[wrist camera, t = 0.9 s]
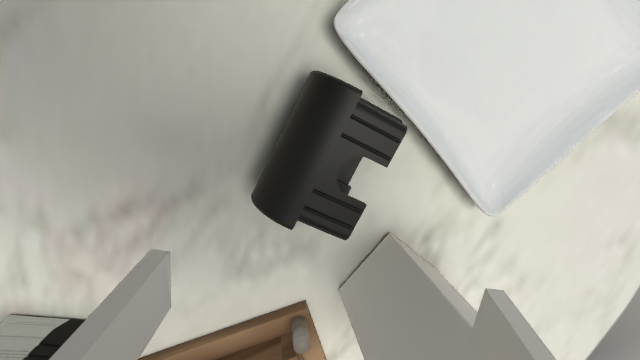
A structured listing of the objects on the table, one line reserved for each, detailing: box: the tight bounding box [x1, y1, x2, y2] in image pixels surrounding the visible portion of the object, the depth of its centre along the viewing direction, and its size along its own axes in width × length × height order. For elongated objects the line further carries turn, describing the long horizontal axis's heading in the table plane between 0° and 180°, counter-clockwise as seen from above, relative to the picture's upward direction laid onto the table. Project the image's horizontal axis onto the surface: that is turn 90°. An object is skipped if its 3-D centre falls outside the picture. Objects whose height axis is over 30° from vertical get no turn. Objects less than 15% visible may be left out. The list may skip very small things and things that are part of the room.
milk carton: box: [339, 233, 478, 360], centre depth 24 cm, size 7×7×19 cm
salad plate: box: [334, 0, 640, 216], centre depth 28 cm, size 21×21×3 cm
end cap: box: [251, 71, 407, 240], centre depth 26 cm, size 10×7×7 cm
